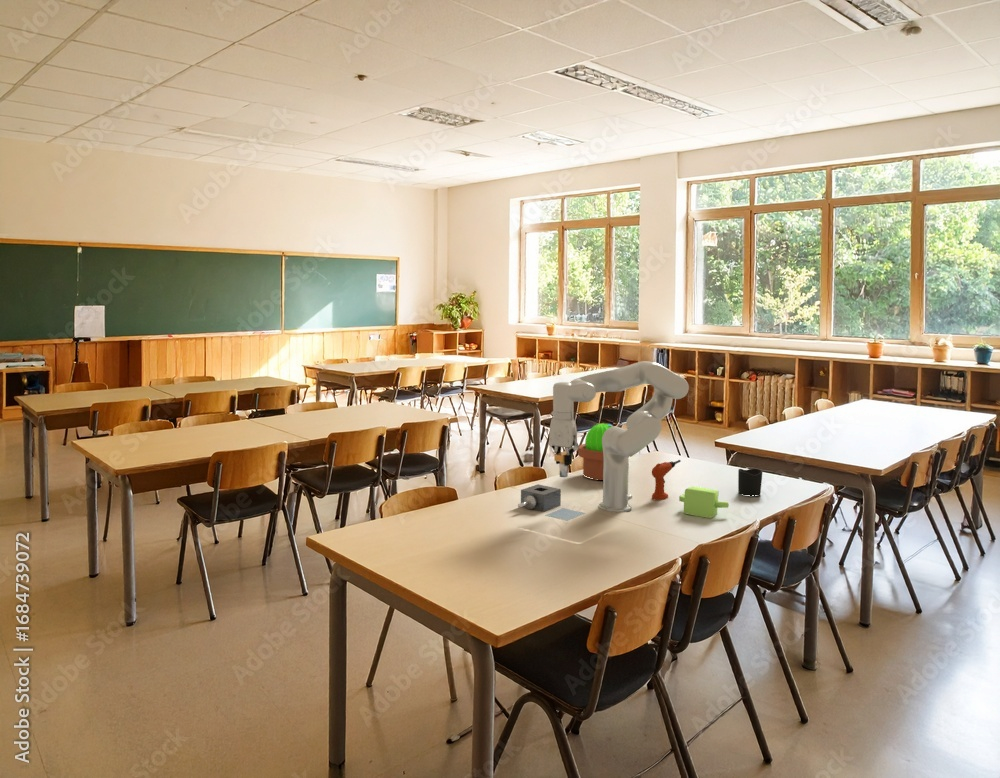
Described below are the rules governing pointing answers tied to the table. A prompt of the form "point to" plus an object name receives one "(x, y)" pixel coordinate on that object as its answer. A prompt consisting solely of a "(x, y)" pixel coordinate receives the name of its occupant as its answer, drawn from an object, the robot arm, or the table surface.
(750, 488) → the pen holder
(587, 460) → the potted cactus
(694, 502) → the gearbox
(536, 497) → the block
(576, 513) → the key mat
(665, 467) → the toy drill
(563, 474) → the chuck key
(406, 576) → the table surface
